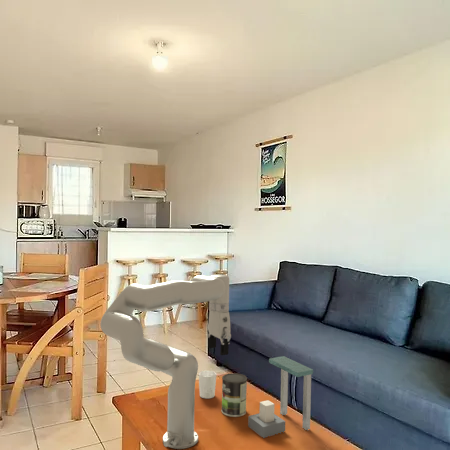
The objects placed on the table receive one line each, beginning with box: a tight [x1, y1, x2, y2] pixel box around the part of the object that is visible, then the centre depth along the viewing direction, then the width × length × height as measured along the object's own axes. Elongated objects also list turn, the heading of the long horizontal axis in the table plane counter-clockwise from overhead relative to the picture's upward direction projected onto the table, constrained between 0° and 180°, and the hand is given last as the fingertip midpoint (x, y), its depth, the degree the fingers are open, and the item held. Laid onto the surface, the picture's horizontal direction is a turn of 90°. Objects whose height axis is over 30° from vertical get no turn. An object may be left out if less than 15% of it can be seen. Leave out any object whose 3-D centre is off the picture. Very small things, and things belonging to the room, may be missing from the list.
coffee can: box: [221, 372, 248, 418], centre depth 177 cm, size 10×10×14 cm
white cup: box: [198, 369, 217, 399], centre depth 193 cm, size 8×8×10 cm
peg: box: [258, 399, 275, 423], centre depth 163 cm, size 4×4×10 cm
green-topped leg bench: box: [268, 355, 314, 431], centre depth 168 cm, size 8×18×23 cm, turn 30°
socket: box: [247, 413, 286, 439], centre depth 163 cm, size 10×10×4 cm
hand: (218, 351), depth 166 cm, fingers open, 9 cm apart
